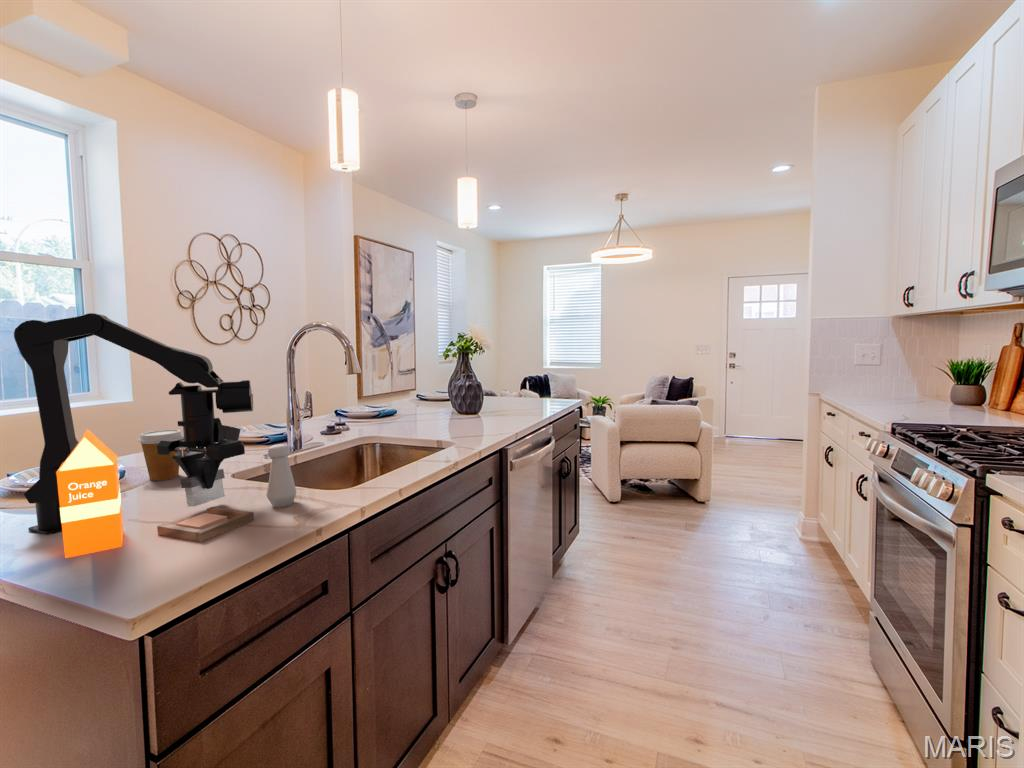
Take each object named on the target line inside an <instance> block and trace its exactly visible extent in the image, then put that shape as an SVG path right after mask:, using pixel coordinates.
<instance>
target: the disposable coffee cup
mask: <svg viewBox="0 0 1024 768" xmlns="http://www.w3.org/2000/svg"><path fill="white" fill-rule="evenodd" d="M177 437H184V434H183V433H182V432H181V430H180V429H161V430H160V429H159V430H152V431H147V432H142V433H140V436H139V438H138V442H139V443H140V444H141V448H142V453H143V456H144V460H145V465H146V469H147V473H148V479H149V480H150V481H155V480H157V481H165V480H171V479H175V478H177V477H179V475H180V474H179V473H180V466H179V465H178V463H177V462H176V461H175V460H174V459H172V457H173V456H175V451H171V452H170V454H168V455H161V454H158V451H157V445H158V444H159V443H160V441H162V440H167V439H172V438H177Z"/></svg>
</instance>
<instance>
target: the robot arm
mask: <svg viewBox="0 0 1024 768" xmlns="http://www.w3.org/2000/svg"><path fill="white" fill-rule="evenodd" d="M93 336H96V337H98V338H101V339H103V340H105V341H107V342H110V343H112V344H114V345H115V346H116V345H117V346H119V347H121V348H123V349H125V350H128V351H130V352H132V353H134V354H137V355H139V356H141V357H143V358H146V359H148V360H150V361H152V362H155V363H156V364H158V365H159V366H161V367H162V368H163V369H164V370H166V371H167V372H169V373H170V374H171V375H173V376H175V377H176V378H178V379H180V380H181V381H182V382H185V383H186V384H193V385H184V384H183V383H182V382H180V381H179V382H177V383H176V384H175V386H174V387H173V388H172V389H170V390H168V395H169V396H175V395H176V396H177V395H180V403H181V404H180V405H181V415H182V420H178V421H177V427H182V432H183V433H182V434H183V436H182V437H177V438H172V439H167V440H162V441H160V443H159V444H158V445H157V451H158V454H161V455H168V454H170V452H171V451H175V456H173V457H172V459H174V460H175V461H176V462H177V463H178V465H179V468H181V469H182V471H183V472H184V474H185V475H186V477H188V476H192V475H195V474H199V473H201V476H202V479H203V482H204V484H205V486H206V488H207V489H210V488H212V487H213V484H214V481H215V478H216V474H217V471H218V469H220V466H221V463H222V462H223V461H224V460H227V459H230V458H233V457H237V456H241V455H245V453H246V452H245V451H246V449H245V443H243V442H242V441H241V440H239V438H240V435H241V428H239V427H235V426H230V425H225V424H224V425H223V424H222V421H221V419H220V417H215V407H214V406H216V409H217V410H218V409H219V410H221V411H222V414H230V413H245V412H246V413H247V412H248V413H249V412H253V411H254V394H253V393H252V392H253V391H252V387H251V380H250V379H246V380H243V379H242V380H240V381H239V380H238V381H224V380H222V378H221V377H220V376H219V375H218V374H217V373H216V372H215V371H214V370H213V369H214V367H213V363H212V361H211V360H210V359H209V358H208V357H207V356H205V355H201V354H199V353H195V352H192V351H189V350H185V349H180V348H176V347H173V346H170V345H167V344H164V343H162V342H160V341H158V340H156V339H154V338H152V337H149V336H147V335H145V334H142V333H140V332H138V331H137V330H133V329H132V328H129V327H127V326H125V325H123V324H120V323H118V322H117V321H114V320H112V319H110V318H109V317H108V316H106V315H104V314H100V313H94V312H93V313H91V312H89V313H86V314H84V315H79V316H75V317H74V316H73V317H69V318H68V317H67V318H61V319H60V318H59V319H57V320H56V319H55V320H51V321H48V320H37V319H31V320H30V319H29V320H25V321H23V322H21V323H20V324H19V325H18V326H17V327H15V328H14V332H13V338H14V341H15V343H16V347H17V348H18V351H19V353H20V356H21V357H22V358H23V360H24V361H25V362H26V364H27V365H28V366H29V368H30V370H31V373H32V379H33V384H34V389H35V396H36V401H37V407H38V411H39V412H38V413H39V418H40V419H39V420H40V423H41V429H42V435H43V441H44V442H43V443H44V447H43V450H42V454H41V455H40V456H41V457H40V459H39V473H38V474H39V476H38V477H39V479H38V480H37V481H36V482H35V483H34V484H33V485H32V486H30V487H29V488H28V489H27V490H26V491H25V492H24V493H23V495H24V497H25V499H26V500H27V503H29V504H35V512H36V513H35V514H36V522H37V524H35V525H33V526H30V527H28V529H27V530H28V531H30V532H35V533H41V534H46V535H50V534H54V533H57V532H60V531H62V523H61V516H60V503H59V493H58V483H57V473H56V472H57V470H58V469H59V467H60V466H61V465H62V463H63V462H64V461H65V460H66V459H68V458H69V457H68V456H69V455H70V453H71V452H72V451H73V450H75V449H76V448H75V447H76V446H78V445H79V444H78V443H79V442H80V441H78V440H77V437H76V433H75V432H76V431H75V428H74V427H75V426H74V422H73V421H74V420H73V415H72V408H71V403H70V398H69V392H68V386H67V385H68V384H67V380H66V373H65V363H66V361H67V357H68V353H69V343H70V342H74V341H75V342H76V341H80V340H82V339H86V338H89V337H93ZM194 384H195V385H194ZM196 384H198V385H196ZM203 386H204V388H206V389H202V387H203ZM214 394H215V405H214ZM77 444H78V445H77ZM74 448H75V449H74ZM72 453H73V452H72ZM72 453H71V454H72ZM67 457H68V458H67ZM65 462H66V461H65Z"/></svg>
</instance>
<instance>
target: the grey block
mask: <svg viewBox="0 0 1024 768" xmlns="http://www.w3.org/2000/svg"><path fill="white" fill-rule="evenodd" d="M225 477H226V476H225V472H224V468H218V471H217V474H216V478H215V481H214V484H213V487H212V488H210V489H207V488H206V486H205V484H204V482H203V479H202V476H201V473H199V474H195V475H192V476H188V477H187V476H186V477H182V478H179V479H180V484H181V485H180V486H181V489H184V491H185V497H186V503H187V504H186V505H187V507H189V508H191V507H197V506H201V505H203V504H206V503H208V502H211V501H215V500H218V499H221V498H225V497H226V495H225V489H224V483H223V479H225Z"/></svg>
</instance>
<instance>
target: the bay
mask: <svg viewBox="0 0 1024 768" xmlns="http://www.w3.org/2000/svg"><path fill="white" fill-rule="evenodd" d="M206 513H209V514H216V515H222V516H227V519H228V520H226V521H224V522H221V523H219V524H216V525H213V526H211V527H208V528H206V529H203V530H199V529H193V528H187V527H181V526H176V525H174V524H168V523H162V524H160V525H157V526H156V527H157V528H156V530H157V535H159V536H164V537H171V538H174V539H175V538H177V539H181V540H189V541H192V542H193V541H194V542H200V543H202V542H204V541H208V540H210V539H212V538H215V537H217V536H220V535H222V534H224V533H226V532H228V531H231V530H233V529H237V528H238V527H240V526H243V525H246V524H248V523H251V522H253V521H254V517H255V516H254V512H252V511H245V510H238V509H232V508H225V507H217V506H210V507H207V508H206Z"/></svg>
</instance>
